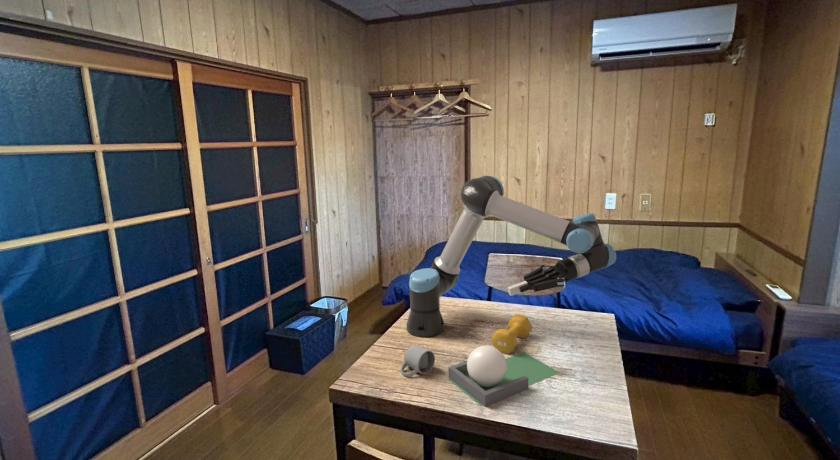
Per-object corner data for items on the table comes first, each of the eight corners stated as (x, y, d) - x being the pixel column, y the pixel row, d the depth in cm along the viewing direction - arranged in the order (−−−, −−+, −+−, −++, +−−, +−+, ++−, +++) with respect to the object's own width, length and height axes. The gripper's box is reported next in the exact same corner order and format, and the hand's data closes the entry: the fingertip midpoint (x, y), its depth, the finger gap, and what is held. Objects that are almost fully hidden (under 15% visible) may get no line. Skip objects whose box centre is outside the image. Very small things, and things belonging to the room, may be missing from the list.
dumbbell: (513, 358, 147) (514, 335, 145) (489, 351, 152) (489, 329, 150) (533, 336, 162) (534, 316, 160) (511, 331, 167) (511, 311, 165)
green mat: (448, 380, 134) (448, 379, 134) (524, 353, 150) (524, 352, 150) (480, 406, 120) (480, 405, 120) (559, 373, 136) (559, 372, 136)
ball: (493, 343, 138) (479, 377, 138) (468, 335, 132) (453, 372, 131) (520, 359, 128) (505, 396, 128) (494, 352, 122) (478, 391, 121)
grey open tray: (448, 377, 135) (448, 367, 134) (489, 362, 143) (489, 353, 143) (484, 406, 120) (484, 395, 119) (528, 388, 128) (528, 377, 127)
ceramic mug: (418, 360, 147) (417, 339, 145) (435, 369, 141) (435, 347, 139) (395, 372, 140) (394, 351, 138) (412, 382, 134) (411, 360, 132)
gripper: (559, 251, 150) (498, 274, 146) (582, 265, 138) (516, 290, 134) (562, 270, 152) (502, 292, 148) (584, 285, 140) (520, 310, 136)
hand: (509, 291), depth 141 cm, fingers closed
